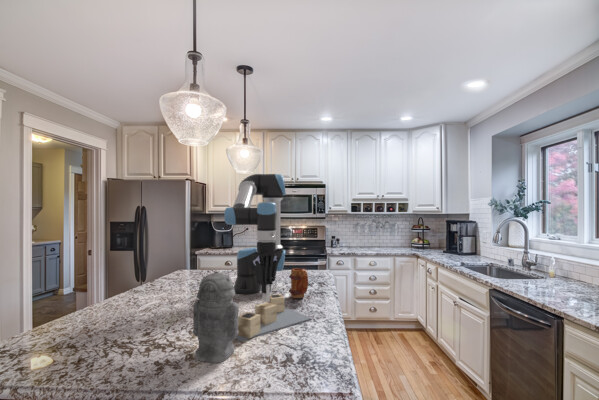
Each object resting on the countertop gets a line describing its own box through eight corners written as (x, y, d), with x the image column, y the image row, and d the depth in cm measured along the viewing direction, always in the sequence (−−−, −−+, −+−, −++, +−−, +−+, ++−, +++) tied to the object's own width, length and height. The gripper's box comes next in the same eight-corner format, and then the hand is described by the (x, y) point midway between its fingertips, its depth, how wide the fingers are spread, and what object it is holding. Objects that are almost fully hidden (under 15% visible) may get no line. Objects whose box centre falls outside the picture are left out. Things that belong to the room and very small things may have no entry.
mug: (286, 296, 150) (286, 266, 150) (300, 294, 153) (300, 265, 154) (298, 304, 136) (298, 272, 137) (313, 301, 140) (313, 270, 140)
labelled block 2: (266, 309, 128) (266, 294, 128) (279, 307, 130) (279, 293, 130) (271, 313, 122) (271, 298, 122) (284, 311, 124) (284, 296, 125)
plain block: (255, 321, 113) (255, 305, 114) (266, 317, 118) (266, 302, 118) (265, 325, 109) (265, 309, 110) (276, 320, 114) (276, 305, 114)
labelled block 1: (236, 334, 101) (236, 316, 101) (246, 328, 106) (246, 311, 106) (250, 338, 98) (250, 319, 98) (260, 331, 103) (260, 313, 104)
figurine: (202, 344, 94) (203, 267, 95) (242, 349, 91) (243, 269, 92) (184, 359, 85) (185, 273, 86) (228, 365, 82) (229, 276, 83)
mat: (215, 323, 112) (215, 322, 112) (282, 307, 132) (282, 305, 132) (239, 341, 96) (239, 339, 96) (311, 319, 117) (311, 318, 117)
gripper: (260, 243, 108) (259, 307, 107) (284, 240, 117) (284, 299, 117) (247, 241, 113) (246, 302, 112) (271, 239, 122) (271, 295, 122)
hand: (266, 300), depth 114 cm, fingers closed
